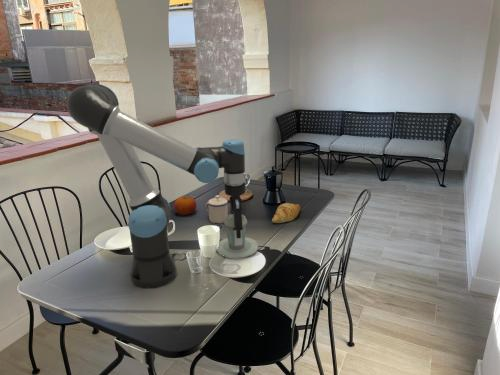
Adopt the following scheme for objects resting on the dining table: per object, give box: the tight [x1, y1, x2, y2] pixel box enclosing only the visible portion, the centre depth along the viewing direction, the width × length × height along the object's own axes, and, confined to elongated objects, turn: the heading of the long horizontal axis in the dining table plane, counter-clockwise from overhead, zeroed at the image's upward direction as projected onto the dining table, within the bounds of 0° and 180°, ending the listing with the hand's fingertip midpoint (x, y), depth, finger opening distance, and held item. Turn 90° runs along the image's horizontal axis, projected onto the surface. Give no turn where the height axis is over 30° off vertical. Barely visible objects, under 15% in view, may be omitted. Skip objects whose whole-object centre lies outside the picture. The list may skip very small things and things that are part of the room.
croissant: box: [271, 202, 301, 224], centre depth 169 cm, size 21×10×8 cm, turn 141°
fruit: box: [173, 195, 197, 216], centre depth 175 cm, size 11×10×8 cm
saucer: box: [216, 236, 259, 259], centre depth 141 cm, size 16×16×2 cm
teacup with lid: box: [205, 194, 229, 224], centre depth 167 cm, size 12×9×12 cm
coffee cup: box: [223, 213, 248, 250], centre depth 138 cm, size 8×8×12 cm
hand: (236, 238), depth 139 cm, fingers open, 10 cm apart
